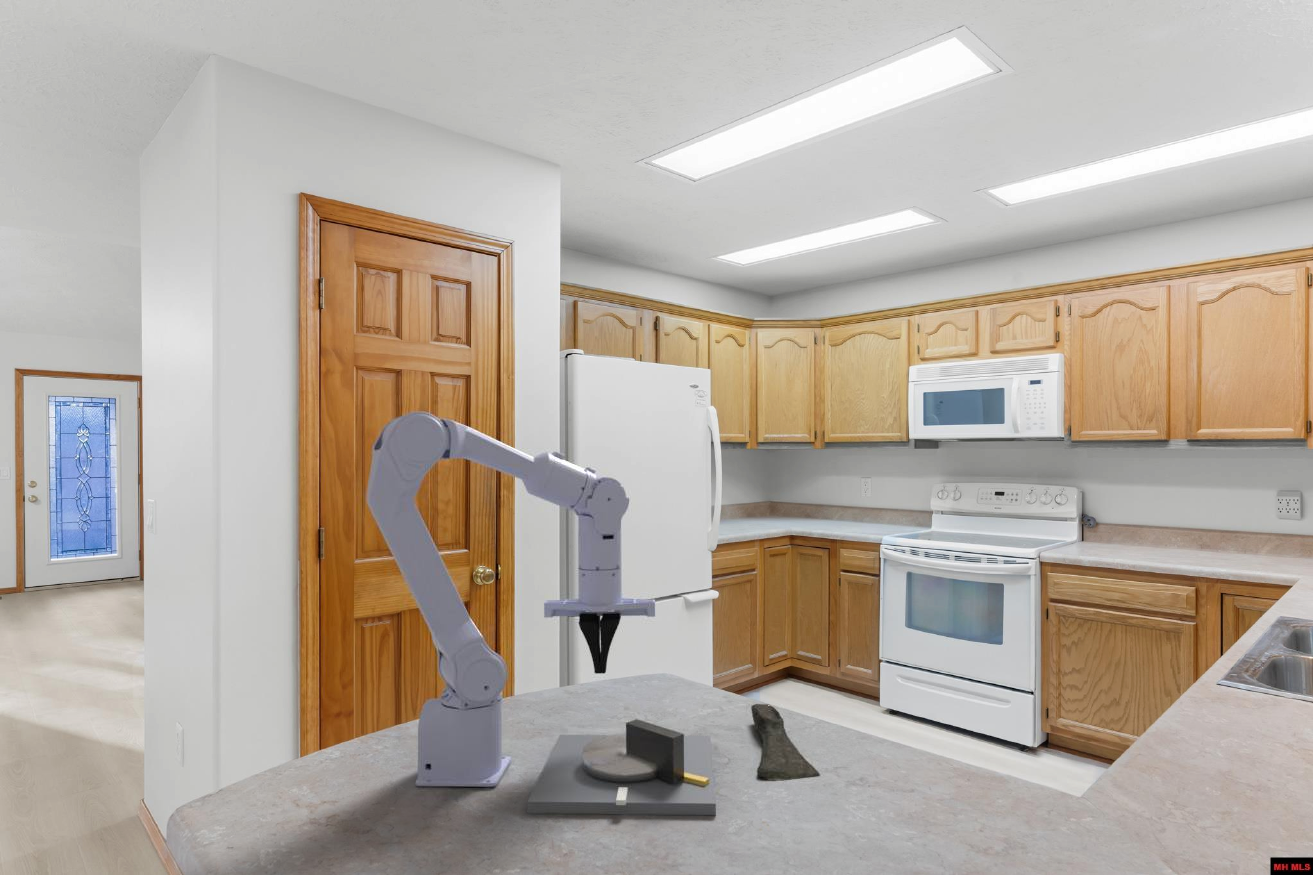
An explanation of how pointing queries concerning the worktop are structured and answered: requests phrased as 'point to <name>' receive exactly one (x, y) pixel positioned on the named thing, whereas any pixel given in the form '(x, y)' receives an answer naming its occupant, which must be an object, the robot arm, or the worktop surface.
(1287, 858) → the worktop surface
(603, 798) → the board
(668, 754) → the dial
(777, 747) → the tool
